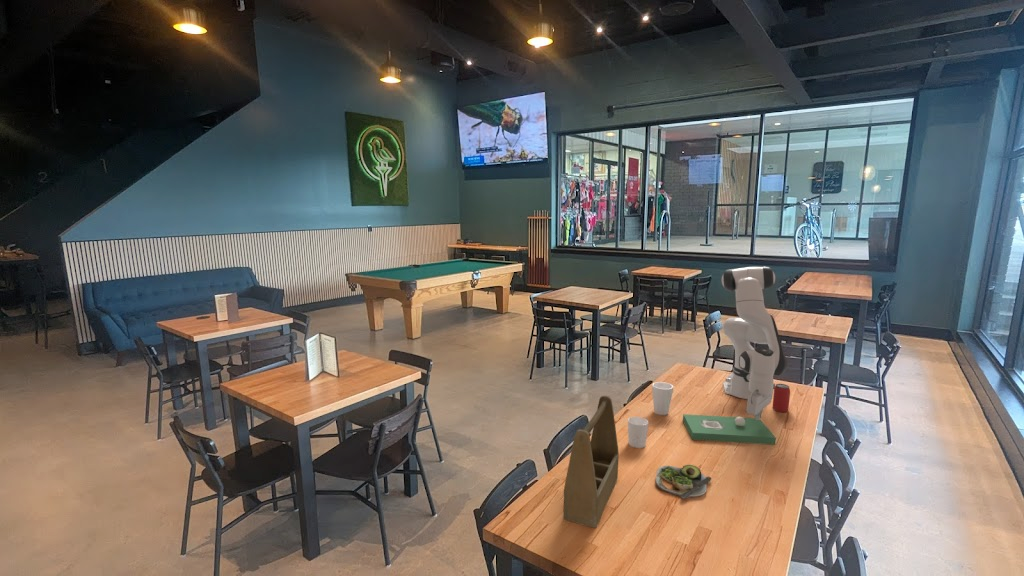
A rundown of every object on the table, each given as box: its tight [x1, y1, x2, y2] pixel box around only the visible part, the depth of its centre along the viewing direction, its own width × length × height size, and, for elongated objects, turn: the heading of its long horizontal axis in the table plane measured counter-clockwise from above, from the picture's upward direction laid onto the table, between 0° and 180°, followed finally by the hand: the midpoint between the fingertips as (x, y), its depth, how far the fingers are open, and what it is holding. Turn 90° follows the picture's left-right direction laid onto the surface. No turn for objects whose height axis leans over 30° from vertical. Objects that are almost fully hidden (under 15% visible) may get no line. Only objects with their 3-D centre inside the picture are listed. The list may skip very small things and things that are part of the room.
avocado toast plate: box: [655, 464, 712, 500], centre depth 161 cm, size 19×18×5 cm
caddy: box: [562, 395, 620, 529], centre depth 152 cm, size 29×11×30 cm, turn 155°
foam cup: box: [651, 381, 674, 416], centre depth 220 cm, size 10×9×13 cm
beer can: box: [772, 383, 791, 413], centre depth 222 cm, size 7×7×12 cm
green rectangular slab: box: [682, 413, 777, 445], centre depth 201 cm, size 18×32×3 cm, turn 82°
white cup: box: [627, 416, 649, 449], centre depth 190 cm, size 8×8×10 cm
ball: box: [735, 416, 745, 426], centre depth 199 cm, size 4×4×4 cm
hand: (757, 418), depth 198 cm, fingers closed
